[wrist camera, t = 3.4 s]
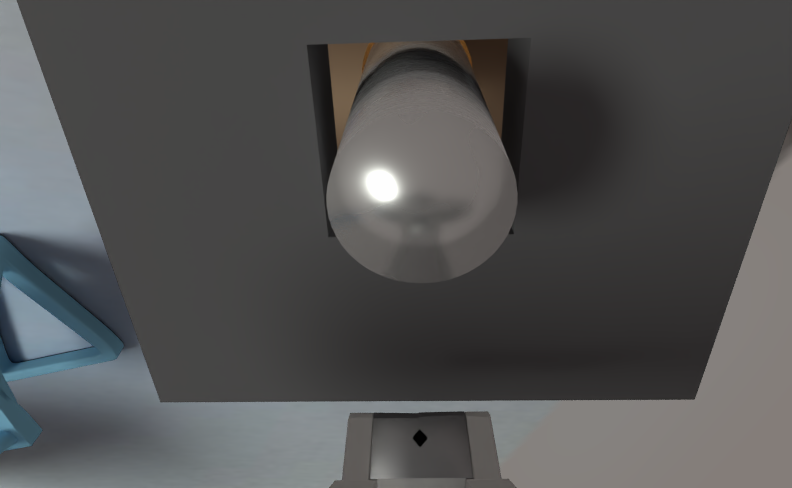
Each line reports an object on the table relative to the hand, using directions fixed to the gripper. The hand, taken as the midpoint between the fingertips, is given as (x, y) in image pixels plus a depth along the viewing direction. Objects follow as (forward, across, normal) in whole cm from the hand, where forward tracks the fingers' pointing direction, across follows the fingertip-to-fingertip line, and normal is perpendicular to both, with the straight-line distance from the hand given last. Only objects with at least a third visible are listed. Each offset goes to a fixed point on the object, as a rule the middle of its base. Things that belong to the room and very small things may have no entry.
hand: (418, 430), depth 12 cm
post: (+13, 0, -5) cm, 14 cm away
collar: (+5, 0, -6) cm, 7 cm away
